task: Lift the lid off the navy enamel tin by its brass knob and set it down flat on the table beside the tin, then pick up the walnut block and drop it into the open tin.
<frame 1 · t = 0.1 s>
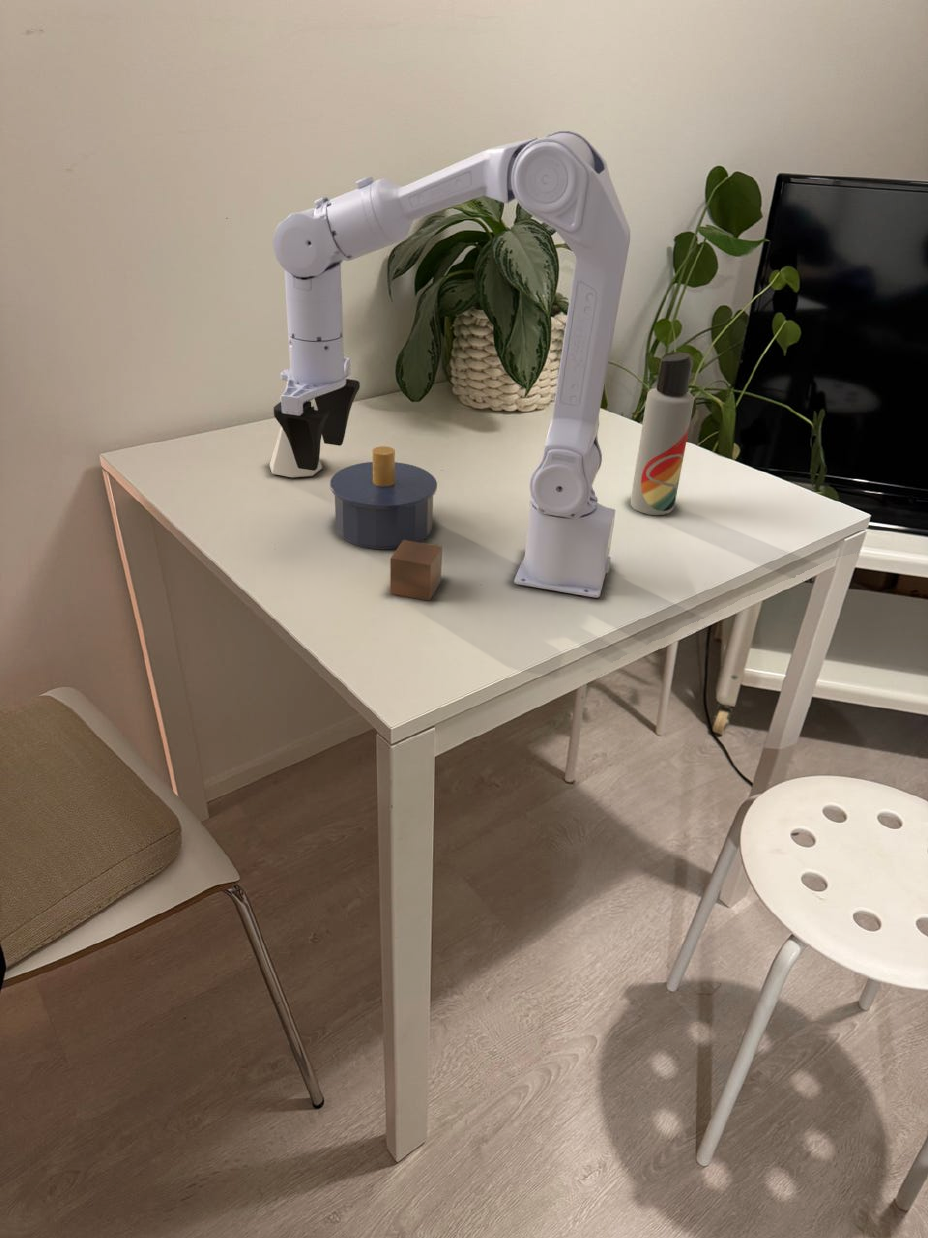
hand: (320, 455, 102), 10 cm above the table, tool pointing down, fingers open, 7 cm apart
lid: (383, 486, 107), point 5 cm above the table, touching tin
block: (415, 587, 99), on the table
flask: (296, 469, 124), on the table
lotion bottle: (651, 507, 119), on the table
tin: (383, 526, 110), on the table
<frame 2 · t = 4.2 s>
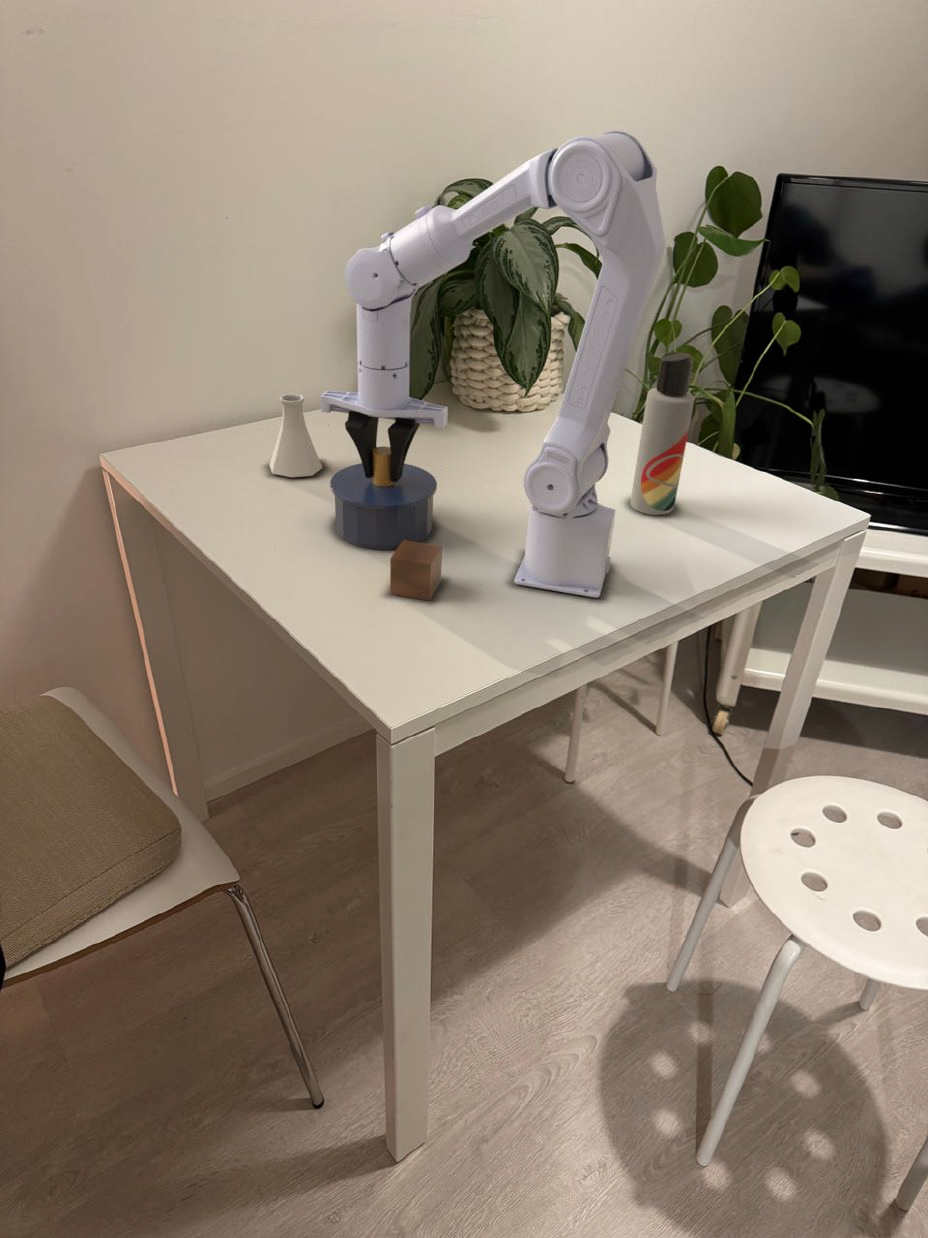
hand: (383, 476, 107), 7 cm above the table, tool pointing down, fingers closed on lid, 2 cm apart
lid: (383, 486, 107), point 5 cm above the table, touching gripper, tin
everything else where it was.
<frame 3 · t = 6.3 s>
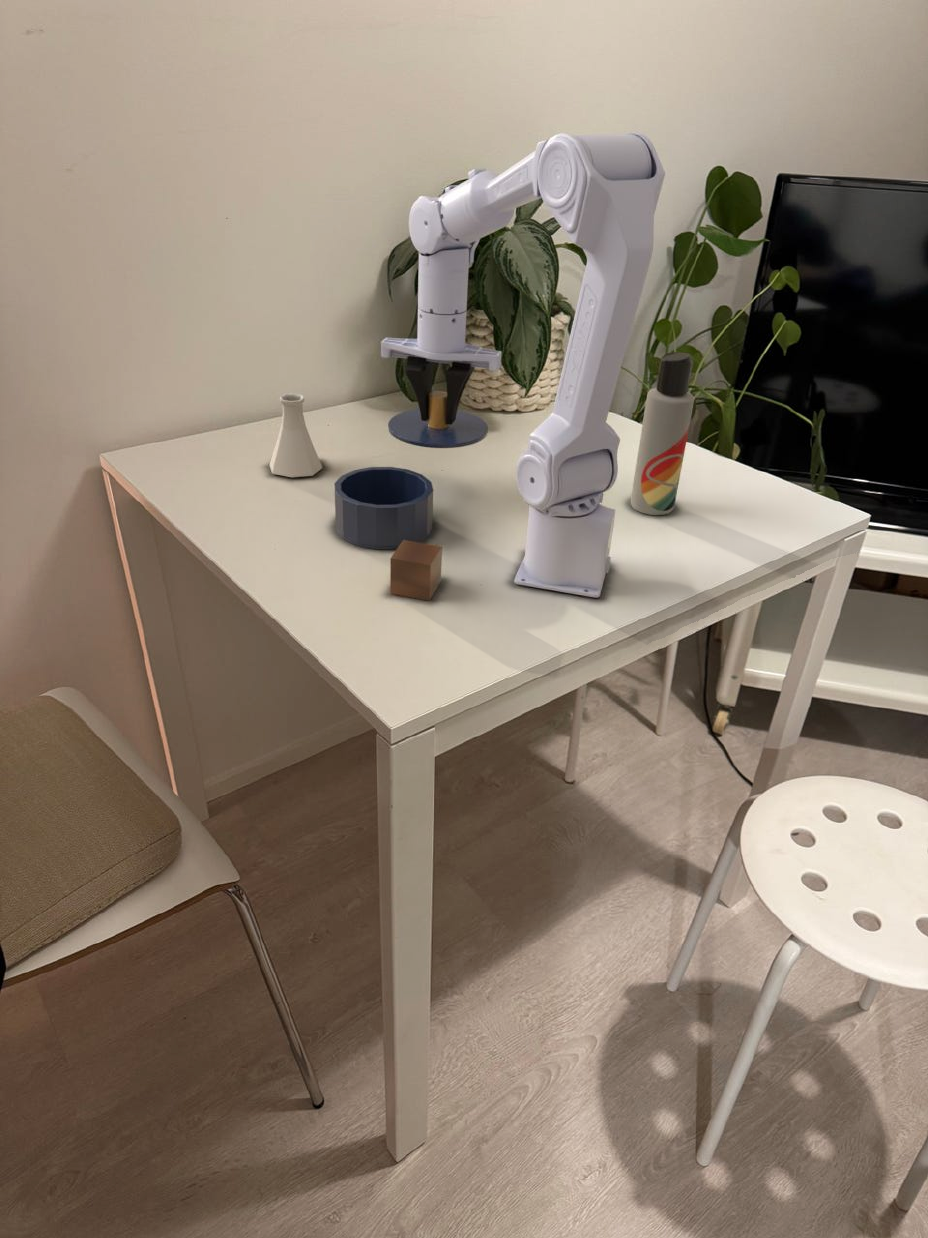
hand: (438, 420, 113), 10 cm above the table, tool pointing down, fingers closed on lid, 2 cm apart
lid: (438, 429, 114), point 9 cm above the table, touching gripper
everything else where it was.
when the fingers open (2 cm above the table, at t = 8.7 s): lid stays where it is, point 1 cm above the table.
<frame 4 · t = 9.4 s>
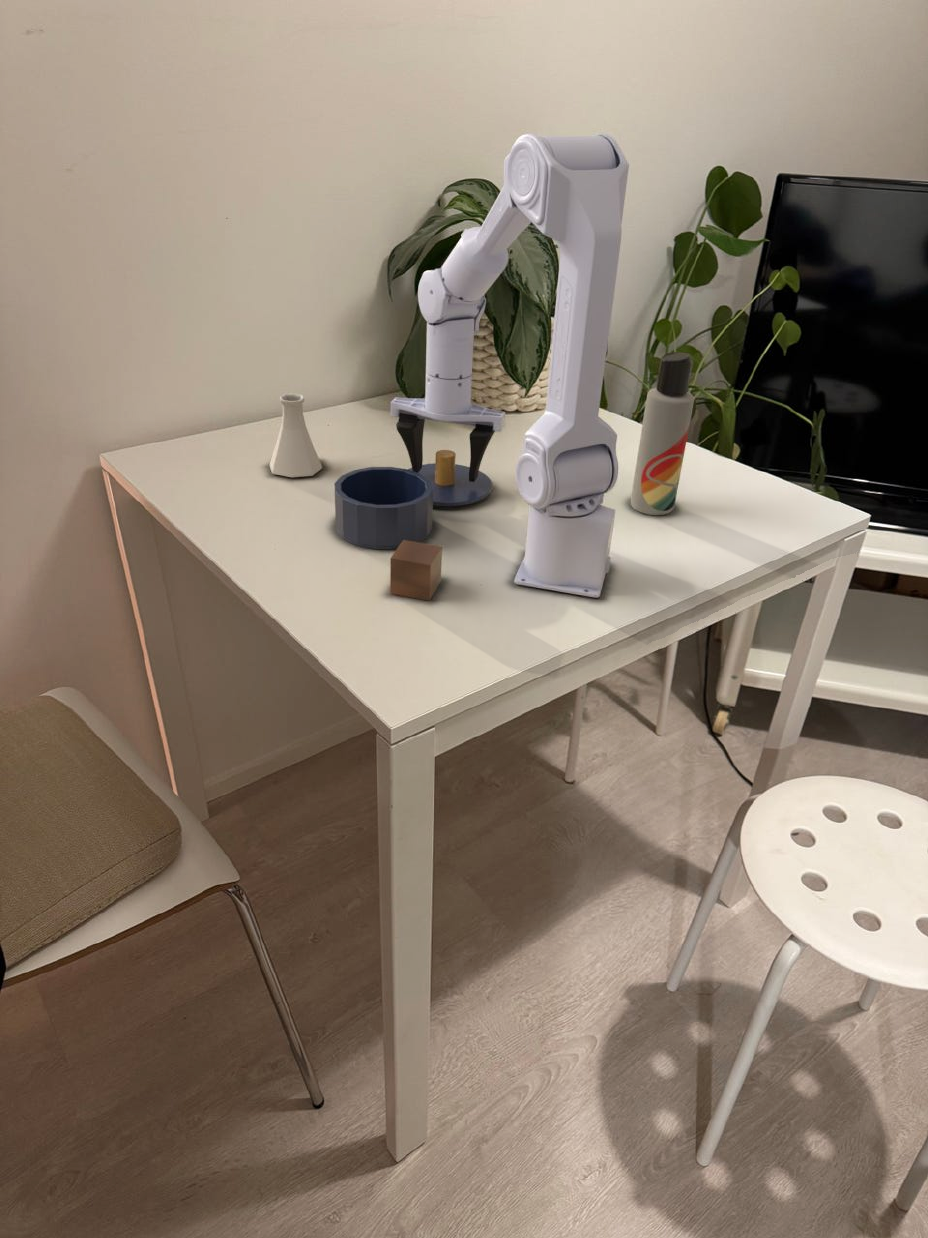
hand: (445, 474, 119), 2 cm above the table, tool pointing down, fingers open, 7 cm apart
lid: (444, 485, 120), point 1 cm above the table
everything else where it was.
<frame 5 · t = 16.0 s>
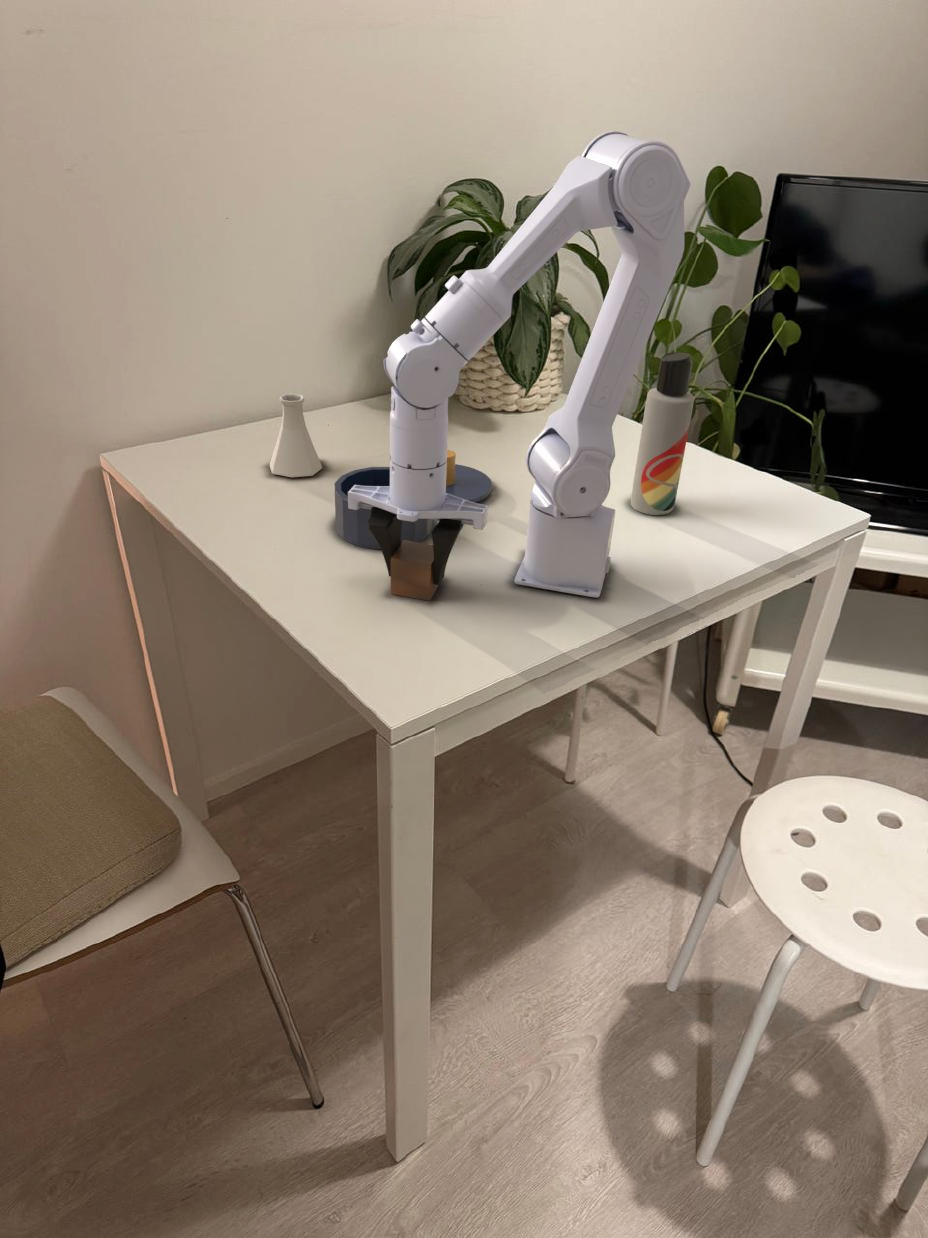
hand: (416, 576, 98), 1 cm above the table, tool pointing down, fingers closed on block, 4 cm apart
block: (416, 587, 99), on the table, touching gripper
everything else where it was.
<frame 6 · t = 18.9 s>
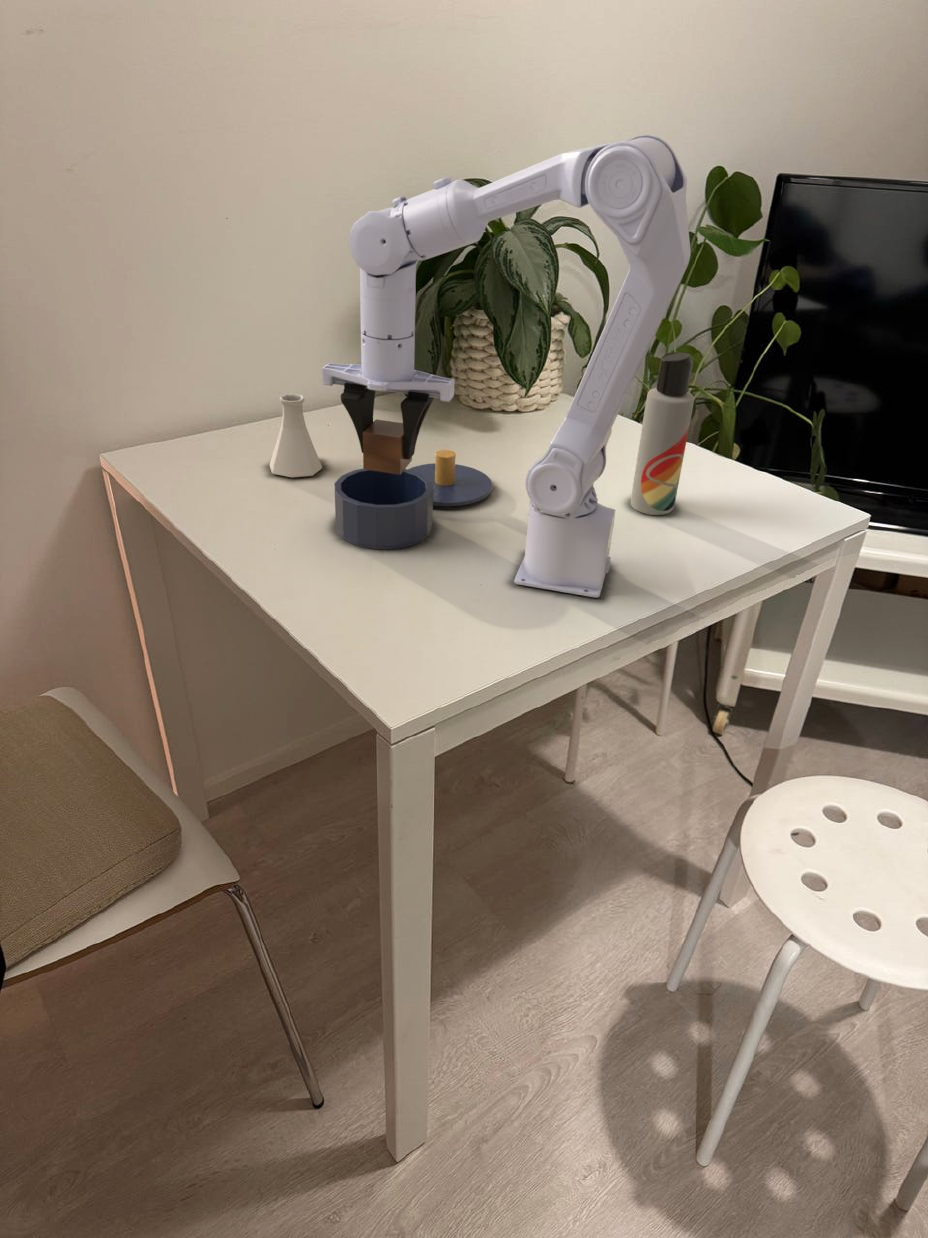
hand: (387, 453, 103), 10 cm above the table, tool pointing down, fingers closed on block, 4 cm apart
block: (387, 464, 104), point 9 cm above the table, touching gripper
everything else where it was.
when the fingers open (3 cm above the table, at t = 22.3 s): block stays where it is, resting on tin.
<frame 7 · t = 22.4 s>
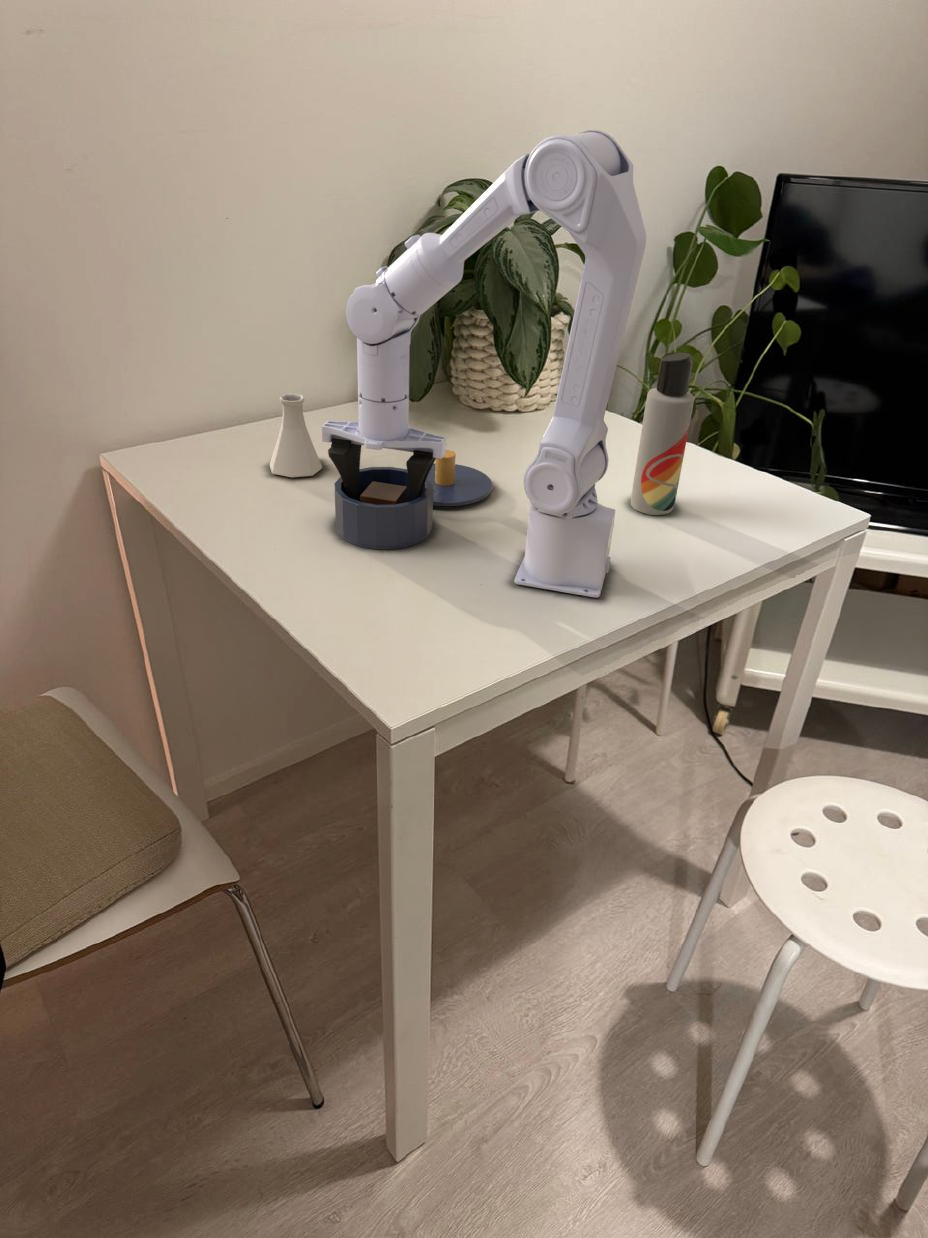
hand: (383, 504, 109), 3 cm above the table, tool pointing down, fingers open, 7 cm apart
block: (384, 524, 110), resting on tin
everything else where it was.
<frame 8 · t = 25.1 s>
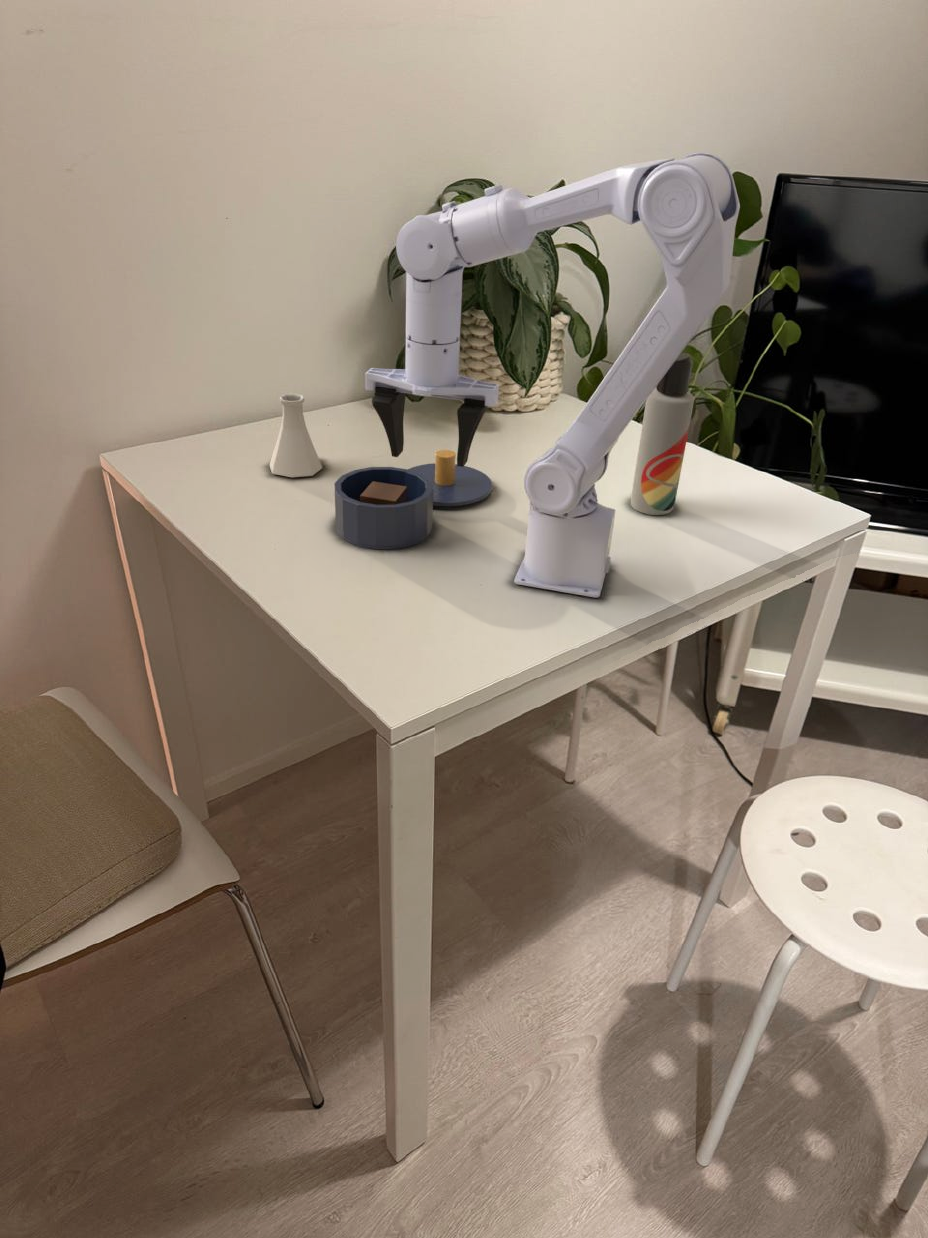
hand: (429, 458, 102), 10 cm above the table, tool pointing down, fingers open, 7 cm apart
nothing on the table moved.
at the end: lid inside the target area (0.0 cm from its centre), point 0.6 cm above the table; lid tilted 0°; block inside the target area in the tin (0.0 cm from its centre), point 0.4 cm above the tin's base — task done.
